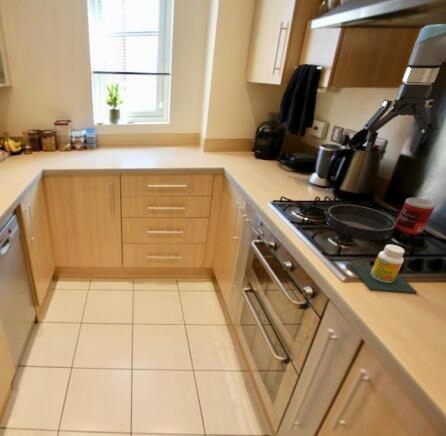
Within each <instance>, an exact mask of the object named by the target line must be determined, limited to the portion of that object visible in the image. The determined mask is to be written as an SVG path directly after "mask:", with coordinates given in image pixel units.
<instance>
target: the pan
mask: <svg viewBox="0 0 446 436" xmlns="http://www.w3.org/2000/svg"><path fill="white" fill-rule="evenodd" d="M324 218H325V219H324V221H325V223H326V225H327V226H328V227H329V228H331V229H332V230H333V231H335V232H338V233H340V234H342V235H344V236H348V237H351V238H354V239H359V240H364V241H374V242H375V241H386V240H388V239H390V238H391V237H392V236H393V235H394V232H395V230H396V228H395V227H396V220H395V219H394V218H392V217H391V216H390V215H388V214H386V213H385V212H382V211H379V210H376V209H374V208H370V207H366V206H361V205H356V204H336V205H332V206H330V207H328V209H327V212H326V214H325V217H324Z"/></svg>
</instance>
